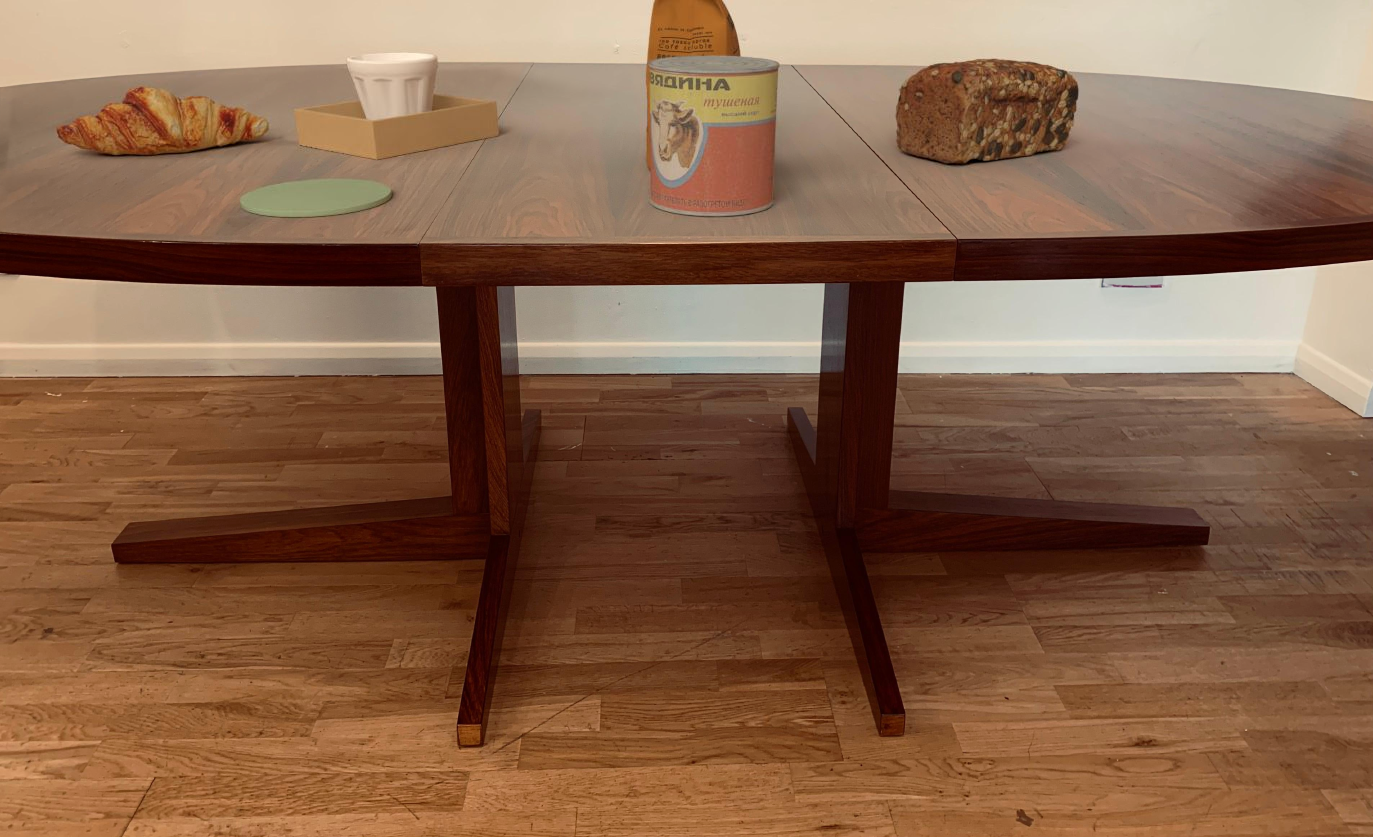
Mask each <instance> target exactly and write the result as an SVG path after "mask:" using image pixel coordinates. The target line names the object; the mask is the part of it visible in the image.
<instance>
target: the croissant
mask: <svg viewBox="0 0 1373 837" xmlns="http://www.w3.org/2000/svg"><path fill="white" fill-rule="evenodd" d="M183 98H184V99H181V98H180V97H176V96H175V95H174V94H173V93H172V92H171V91H169V90H167V89H164V88H156V87H146V86H139V87H132V88H130V89H129V90H128V91H127V92H126V94H125V97H124V98H123V100H122V101H121V102H109V103H107V104H106V105H104V106H103V108H102V109H101V110H100V112H99V113H97V114H96V115H94V116H93V115H87V116H80V117H77V118H76V119H75V120H73V121H72V122H71V123H69V124H64V125H59V126H56V127H55V129H56V134H57V135H58V138H59V139H60V140H61V141H63V143H64V144H67V145H73V146H75V147H77V148H79V149H81V150H87V151H91V150H92V151H94V152H98V153H99V154H108V155H114V156H119V155H139V156H140V155H141V156H151V155H159V154H178V153H181V154H182V153H190V152H194V151H199V150H204V149H208V148H213V147H218V146H219V147H222V146H227V145H229V144H233V145H234V144H235V143H237V142H239V141H252V140H255V139H259V138H261V137H263V136H265V135H266V134H267V133H268V132H269V130H270V129H269V128H270V122H269V120H268V119H267V118H266V117H264V116H257V115H255V114H254V113H251V112H249V111H248V110H245V109H244V108H243V107H239V106H237V107H228V106H226V105H224V104H221V103H216V102H215V101H214V99H212V98H211V99H210V98H209V97H207V96H199V95H198V96H183Z"/></svg>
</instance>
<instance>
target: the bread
mask: <svg viewBox="0 0 1373 837" xmlns="http://www.w3.org/2000/svg"><path fill="white" fill-rule="evenodd" d="M898 91H899V96H898V101H897V104H896V106H895V115H894V117H895V121H896V126H897V128H896V130H895V132H896V138H895V140H896V143H897V145H896V147H897V148H899V149H900V150H901V151H903V152H904V153H906V154H909V155H913V156H916V157H920V158H926V159H929V160H932V161H937V162H941V163H944V164H952V165H953V164H965V165H966V164H967V163H968V162H969V161H970V160H975V159H976V160H979V161H997V160H1004V159H1011V158H1019V157H1030V156H1032V155H1034V154H1037V153H1039V152H1046V151H1059V150H1061V149H1063V148H1064V147H1065V146H1066V145H1067V143H1068V140H1069V139H1070V138H1069V137H1070V131H1072V130H1071V129H1072V127H1074V125H1075V124H1074V123H1075V113H1076V112H1077V101H1078V99H1079V91H1080V90H1079V84H1078V81H1076V78H1075V77H1074V76H1073V75H1072V74H1070V73H1068V71H1067V70H1065V69H1061V68H1058V67H1055V66H1053V65H1051V64H1041V63H1039V62H1035V61H1018V60H1013V59H1000V58H976V59H973V60H966V61H954V62H940V63H933V64H929V65H928V66H927V67H923V68H921V69H920V70H919V71H917V72H916V73H915V74H912V75H911V76H910V77H908V78H907V79H905V81H904V82H903V83H902V85H901V87H900V88H898Z"/></svg>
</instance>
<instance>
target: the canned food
mask: <svg viewBox="0 0 1373 837" xmlns="http://www.w3.org/2000/svg"><path fill="white" fill-rule="evenodd" d="M780 65H781V64H780V62H778V61H776V60H773V59H768V58H763V57H752V56H741V57H740V56H678V57H666V58H659V59H654V60H651V61H649V62H648V66H649V67H650V169H649V170H650V171H649V172H650V173H649V174H650V196H649V203H650V204H651V206H653V207H654V208H656V209H657V210H658V209H659V210H661V211H663V212H667V213H668V212H669V213H672V214H677V215H684V216H685V215H686V216H694V217H695V216H696V217H735V216H745V215H751V214H756V213H759V212H763V211H765V210H768V209H769V208H771V207H772V206H773V205H774V203H775V202H774V200H775V199H774V198H773V197H774V178H775V177H774V175H775V155H776V154H775V150H776V128H777V109H778V108H777V107H778V82H779V68H780Z"/></svg>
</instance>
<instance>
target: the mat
mask: <svg viewBox="0 0 1373 837" xmlns="http://www.w3.org/2000/svg"><path fill="white" fill-rule="evenodd" d="M392 195H393V194H392V189H391V188H390V187H389V186H388V185H386V184H385V183H381V182H378V181H373V180H368V179H358V178H356V179H355V178H317V179H315V178H313V179H304V180H294V181H286V182H280V183H275V184H269V185H266V186H263V187H259V188H256V189H253V190H250V191H248V192H246V193H245V194H243V195H242V196H240V198H239V203H240V207H241V209H242V210H244V211H246V212H248V213H251V214H254V215H260V216H266V217H277V218H313V217H316V218H317V217H328V216H329V217H330V216H337V215H345V214H349V213H355V212H360V211H365V210H368V209H372V208H375V207H378V206H382V205H383V204H385V203H386V202H388V201H390V200H391V199H392Z"/></svg>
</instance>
